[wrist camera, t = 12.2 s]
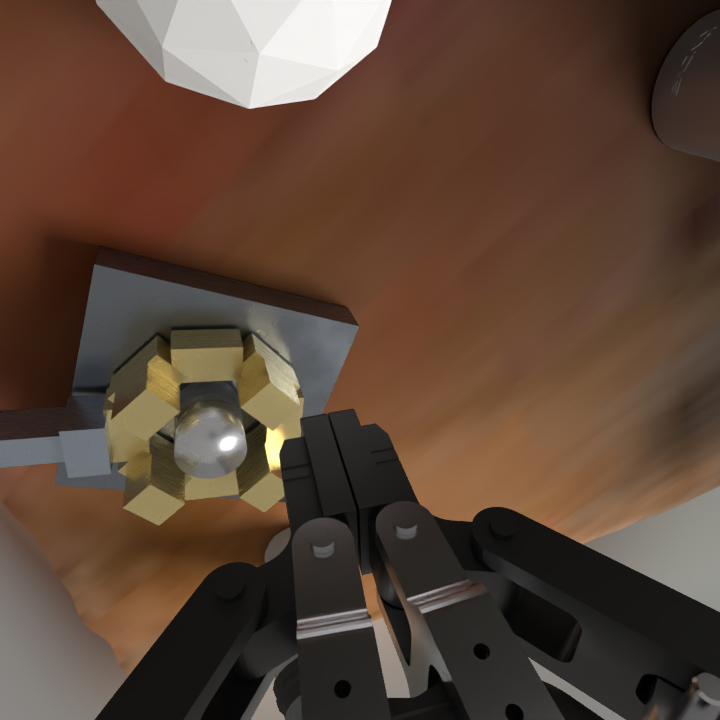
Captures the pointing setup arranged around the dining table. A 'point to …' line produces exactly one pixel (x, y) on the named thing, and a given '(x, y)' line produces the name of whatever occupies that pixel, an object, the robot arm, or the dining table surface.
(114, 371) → the housing
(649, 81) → the dining table surface
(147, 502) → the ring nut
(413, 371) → the dining table surface
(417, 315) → the dining table surface
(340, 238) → the dining table surface
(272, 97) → the geodesic sphere
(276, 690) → the coffee cup
